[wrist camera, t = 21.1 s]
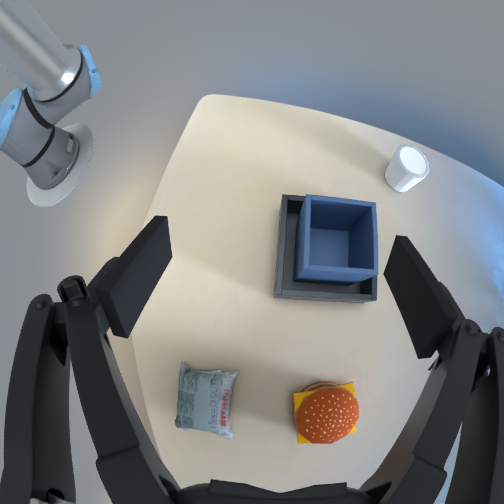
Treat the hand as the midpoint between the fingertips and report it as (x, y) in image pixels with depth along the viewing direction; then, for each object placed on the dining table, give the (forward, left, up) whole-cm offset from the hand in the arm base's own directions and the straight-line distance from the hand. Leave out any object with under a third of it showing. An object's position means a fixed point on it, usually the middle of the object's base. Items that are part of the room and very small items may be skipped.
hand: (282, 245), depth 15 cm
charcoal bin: (+8, +6, -27) cm, 28 cm away
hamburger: (+10, -18, -27) cm, 34 cm away
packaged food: (-7, -18, -27) cm, 33 cm away
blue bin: (+8, +6, -26) cm, 28 cm away
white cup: (+23, +22, -27) cm, 41 cm away
